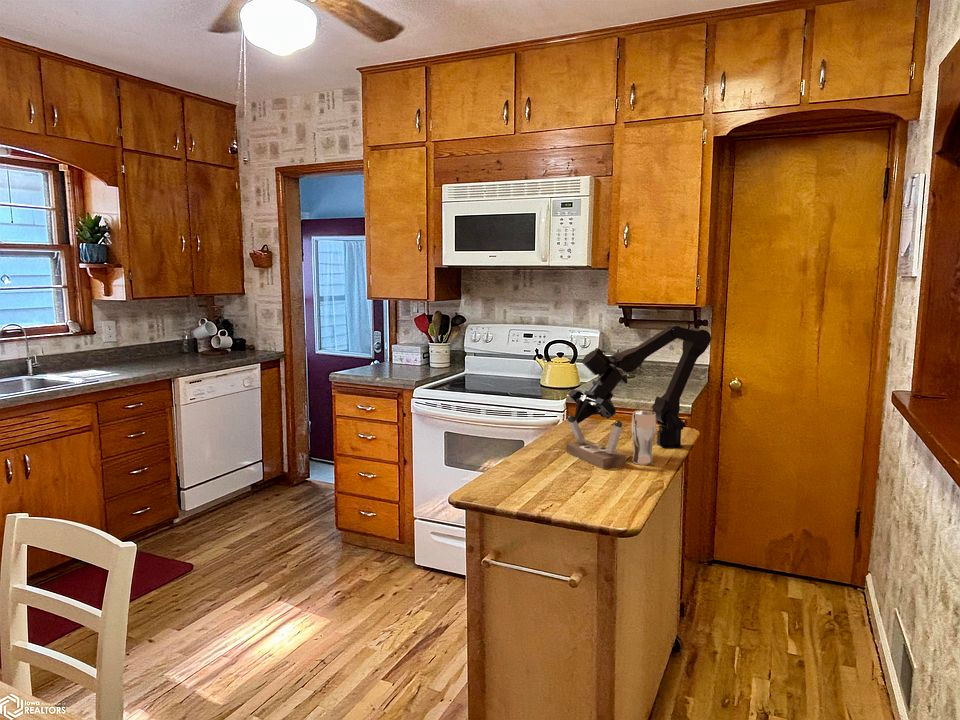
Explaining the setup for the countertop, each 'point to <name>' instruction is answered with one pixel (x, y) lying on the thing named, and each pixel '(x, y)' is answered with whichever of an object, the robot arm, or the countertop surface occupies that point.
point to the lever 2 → (614, 437)
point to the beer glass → (643, 436)
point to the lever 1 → (576, 429)
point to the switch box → (596, 454)
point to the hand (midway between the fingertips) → (575, 423)
